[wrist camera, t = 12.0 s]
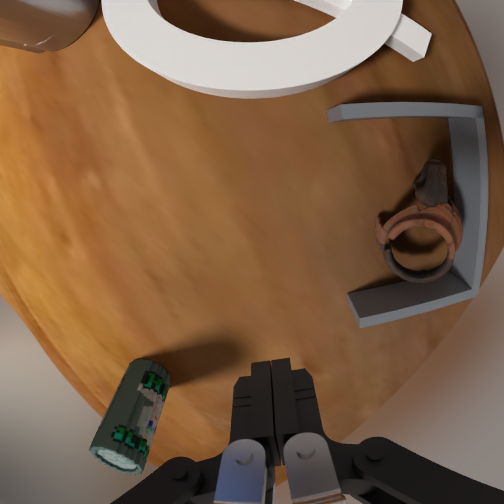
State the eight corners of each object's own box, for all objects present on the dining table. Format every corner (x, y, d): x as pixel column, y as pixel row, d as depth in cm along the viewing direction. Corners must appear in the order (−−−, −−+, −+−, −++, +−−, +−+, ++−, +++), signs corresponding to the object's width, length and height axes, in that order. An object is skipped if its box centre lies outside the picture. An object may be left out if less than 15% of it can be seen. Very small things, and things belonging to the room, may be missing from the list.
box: (347, 302, 32) (359, 328, 27) (326, 110, 24) (340, 104, 20) (456, 277, 30) (477, 295, 25) (454, 107, 23) (482, 106, 18)
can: (172, 392, 38) (146, 478, 24) (134, 385, 38) (100, 465, 24) (167, 362, 36) (134, 456, 22) (125, 356, 36) (82, 440, 22)
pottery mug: (449, 245, 29) (455, 294, 24) (377, 237, 34) (368, 284, 28) (463, 149, 22) (482, 183, 17) (377, 141, 27) (371, 171, 21)
